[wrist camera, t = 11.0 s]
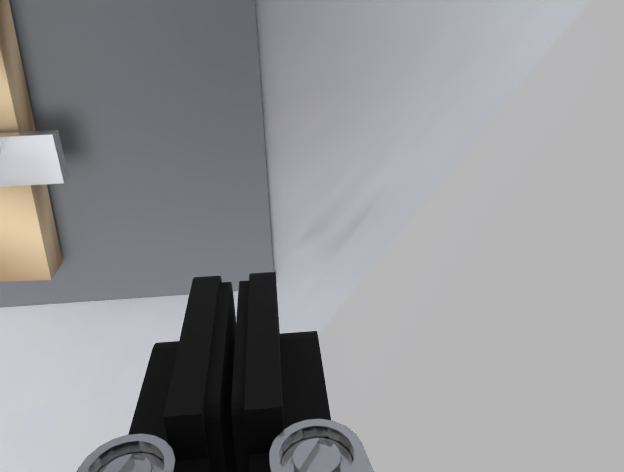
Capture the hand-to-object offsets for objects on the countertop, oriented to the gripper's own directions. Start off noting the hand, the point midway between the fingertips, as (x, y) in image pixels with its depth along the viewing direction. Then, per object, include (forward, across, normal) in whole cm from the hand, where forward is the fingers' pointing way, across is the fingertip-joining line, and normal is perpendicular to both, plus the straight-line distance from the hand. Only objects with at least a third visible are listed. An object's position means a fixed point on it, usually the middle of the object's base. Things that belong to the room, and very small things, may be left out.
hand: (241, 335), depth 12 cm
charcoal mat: (+21, +9, +1) cm, 23 cm away
